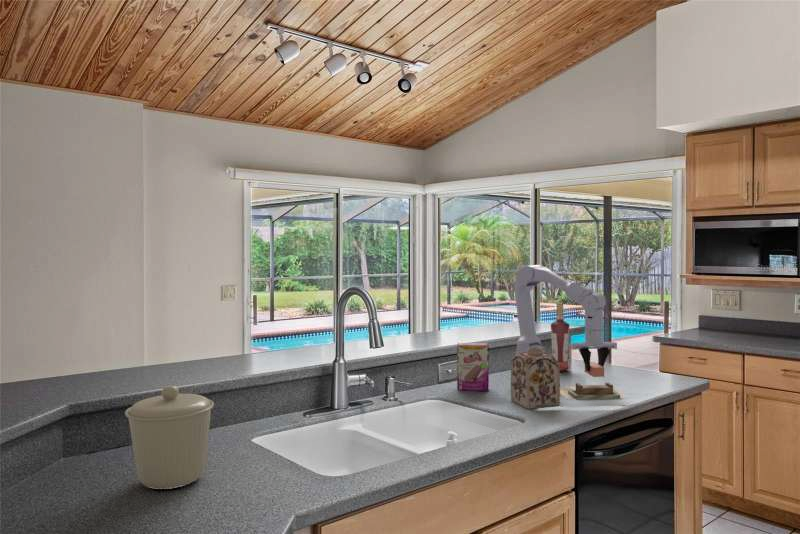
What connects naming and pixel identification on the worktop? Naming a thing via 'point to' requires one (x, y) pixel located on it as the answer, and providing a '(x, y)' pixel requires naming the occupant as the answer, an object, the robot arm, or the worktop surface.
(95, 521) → the worktop surface
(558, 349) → the liquor
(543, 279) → the robot arm
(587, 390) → the brown u-shaped block
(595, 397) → the jig
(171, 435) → the canister
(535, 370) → the decorative jar
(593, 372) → the pink rectangular block
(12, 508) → the worktop surface
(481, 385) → the candy bar box
